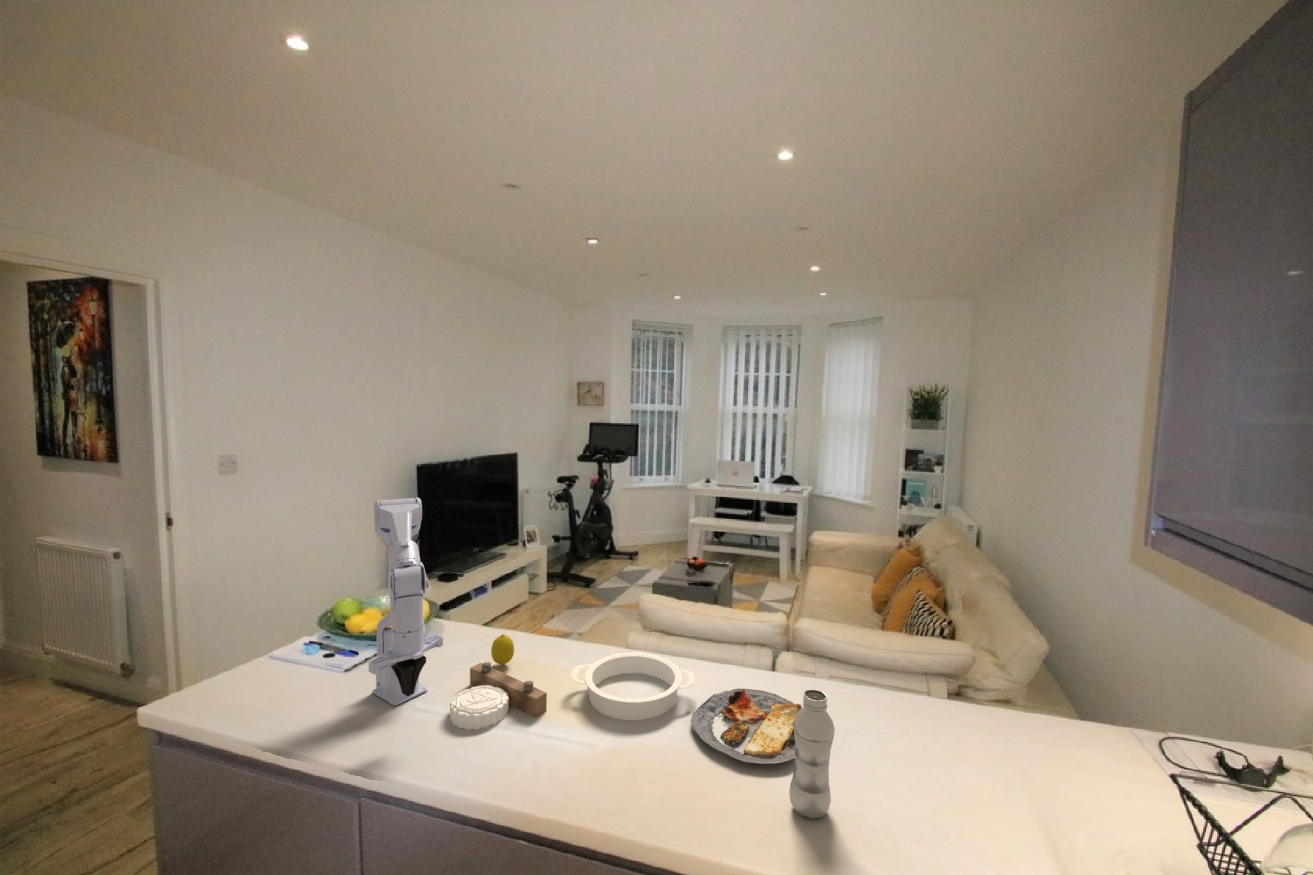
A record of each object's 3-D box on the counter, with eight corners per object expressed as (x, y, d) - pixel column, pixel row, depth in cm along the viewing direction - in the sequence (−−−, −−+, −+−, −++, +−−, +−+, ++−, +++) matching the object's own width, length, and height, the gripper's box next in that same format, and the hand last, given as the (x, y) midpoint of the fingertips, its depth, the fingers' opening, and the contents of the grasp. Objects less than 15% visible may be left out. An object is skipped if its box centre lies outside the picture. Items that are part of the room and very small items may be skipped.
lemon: (507, 672, 134) (508, 640, 133) (487, 669, 135) (487, 638, 134) (517, 661, 139) (518, 631, 138) (497, 659, 140) (498, 628, 140)
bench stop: (470, 684, 128) (470, 661, 127) (480, 678, 130) (480, 656, 130) (536, 716, 115) (536, 691, 115) (546, 710, 118) (546, 685, 117)
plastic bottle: (783, 796, 94) (788, 685, 93) (821, 795, 95) (827, 684, 93) (796, 825, 88) (801, 706, 86) (836, 823, 88) (843, 705, 87)
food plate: (731, 685, 130) (731, 671, 130) (828, 722, 116) (828, 706, 116) (672, 740, 110) (672, 723, 109) (781, 792, 96) (782, 773, 96)
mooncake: (500, 693, 125) (500, 677, 124) (515, 720, 114) (515, 704, 114) (445, 706, 119) (445, 691, 118) (455, 737, 108) (455, 720, 108)
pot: (559, 720, 115) (560, 698, 115) (580, 668, 137) (580, 649, 137) (695, 727, 113) (696, 705, 113) (693, 673, 136) (694, 655, 135)
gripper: (382, 646, 99) (383, 717, 100) (452, 620, 111) (452, 683, 112) (362, 635, 103) (363, 704, 104) (431, 611, 115) (431, 673, 116)
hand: (407, 693), depth 108 cm, fingers closed
